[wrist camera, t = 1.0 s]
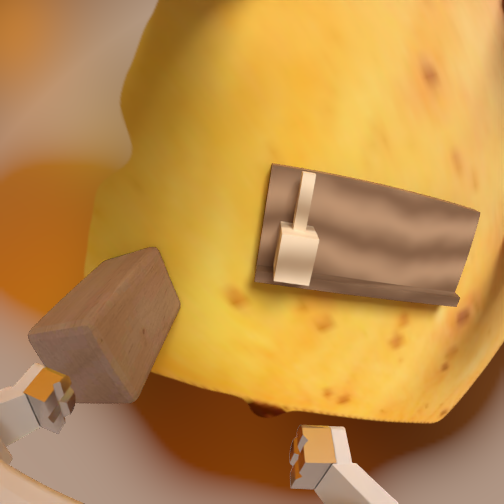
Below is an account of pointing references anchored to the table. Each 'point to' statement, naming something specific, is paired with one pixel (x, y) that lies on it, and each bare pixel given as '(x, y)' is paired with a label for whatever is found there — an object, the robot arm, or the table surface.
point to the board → (372, 238)
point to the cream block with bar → (297, 240)
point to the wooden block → (110, 328)
